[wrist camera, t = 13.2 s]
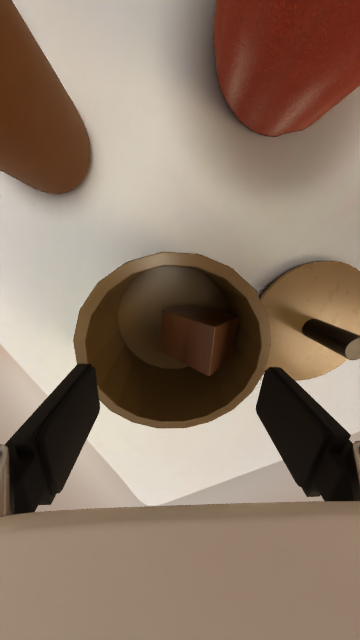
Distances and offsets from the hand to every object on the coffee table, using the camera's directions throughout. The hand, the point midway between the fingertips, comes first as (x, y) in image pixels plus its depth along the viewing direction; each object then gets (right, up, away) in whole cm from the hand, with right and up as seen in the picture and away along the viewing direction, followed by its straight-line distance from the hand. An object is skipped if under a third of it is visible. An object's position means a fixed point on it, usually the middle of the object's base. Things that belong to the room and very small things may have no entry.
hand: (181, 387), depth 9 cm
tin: (-1, +4, +11) cm, 12 cm away
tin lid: (+16, +3, +12) cm, 20 cm away
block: (-1, +3, +10) cm, 10 cm away
